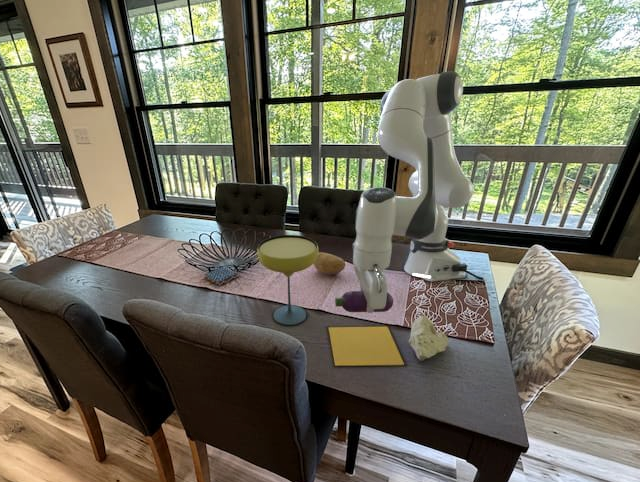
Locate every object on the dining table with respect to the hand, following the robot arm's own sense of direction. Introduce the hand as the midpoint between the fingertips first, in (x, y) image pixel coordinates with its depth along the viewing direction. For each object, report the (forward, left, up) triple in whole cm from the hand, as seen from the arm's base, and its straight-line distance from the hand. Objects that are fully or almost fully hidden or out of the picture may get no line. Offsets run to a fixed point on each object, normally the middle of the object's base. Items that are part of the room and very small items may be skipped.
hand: (366, 303), depth 83 cm
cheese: (-16, +5, -14) cm, 22 cm away
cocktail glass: (+21, -15, -14) cm, 29 cm away
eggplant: (0, 0, -2) cm, 2 cm away
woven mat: (+49, -42, -14) cm, 66 cm away
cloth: (0, 0, -14) cm, 14 cm away
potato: (+5, -44, -14) cm, 46 cm away
